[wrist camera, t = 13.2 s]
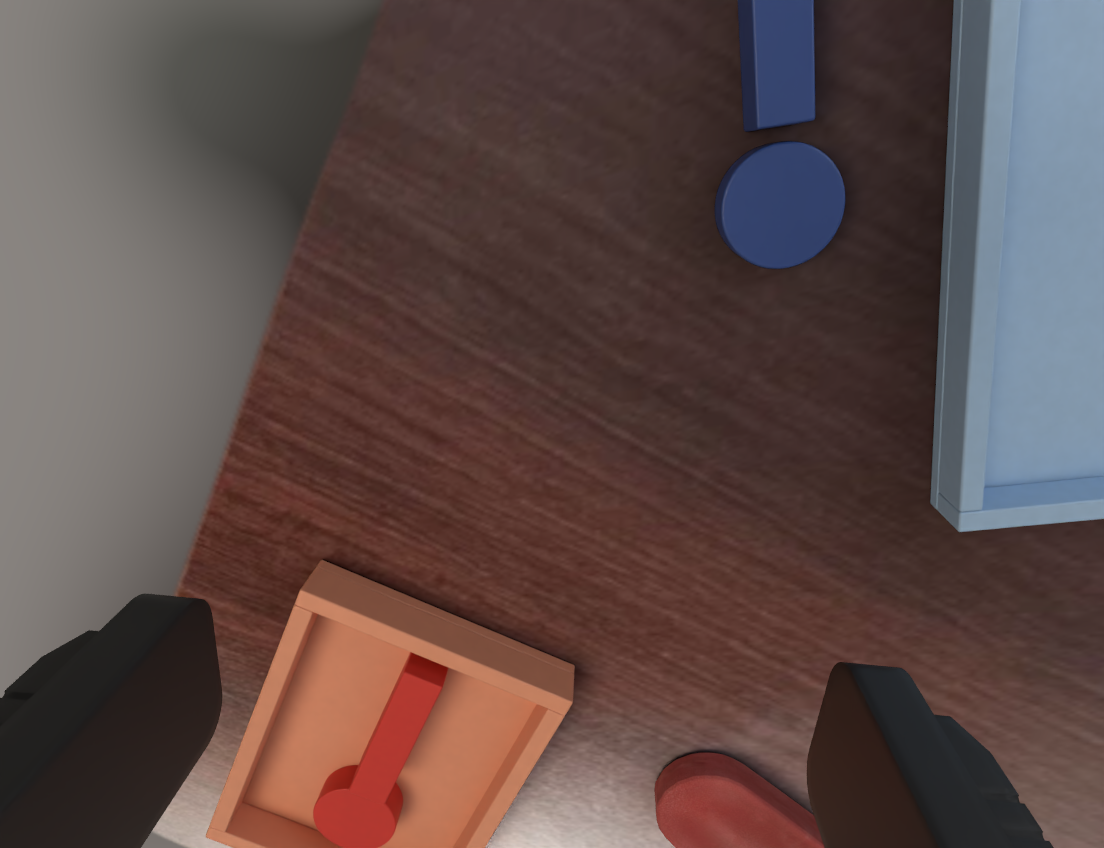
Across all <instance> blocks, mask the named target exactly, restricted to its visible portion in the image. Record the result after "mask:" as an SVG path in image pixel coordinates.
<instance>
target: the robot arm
mask: <svg viewBox="0 0 1104 848" xmlns="http://www.w3.org/2000/svg"><path fill="white" fill-rule="evenodd" d="M221 706H222V686H221V679H220V671H219V664H218V656H217V648H216V641H215V633H214V625H213V618H212V612H211V609H210V606H209V604H208V603H207V602H206V601H205V600H203V599H197V598H186V597H176V596H165V595H155V594H141V595H139V596H137V597H135V598H134V599H132V600H131V601H130V602H129V603H128V604H127V605H126V606H125V607H124V608H123V609H122V610H121V611H120V612H119V613H118V614H117V615H116V616H115V617H114V618H113V619H111V620H110V621H109V623H107V624H106V625H105V626H104V627H103V628H102V629H101V630H100V631H87V632H85V633H84V634H82V635H80V636H78V637H76V638H75V639H73V640H71V641H69V642H68V643H66V644H64V645H62V646H60V647H59V648H57V649H55V650H54V651H52V652H50V653H48V654H46V655H44V656H43V657H41V658H40V659H39V660H38V661H37V662H36V663H35V664H34V665H32V666H31V667H30V668H29V669H28V670H27V671H26V672H25V673H24V674H23V675H22V676H20V677H19V678H18V679H17V680H16V681H15V682H14V683H13V684H12V685H11V686H9V687H8V688H7V689H6V690H5V694H4V696H3V697H2V698H0V848H141V847H142V845H143V844H144V842H145V840H146V839H147V838H148V836H149V834H150V833H151V831H152V830H153V828H154V827H155V825H156V824H157V822H158V821H159V819H160V818H161V816H162V815H163V813H164V812H165V810H166V808H167V807H168V805H169V804H170V802H171V801H172V799H173V798H174V796H175V795H176V793H177V792H178V790H179V789H180V787H181V785H182V784H183V782H184V781H185V779H186V778H187V776H188V775H189V773H190V772H191V770H192V769H193V767H194V766H195V764H196V763H197V761H198V759H199V758H200V756H201V755H202V753H203V752H204V750H205V749H206V747H207V746H208V744H209V742H210V740H211V738H212V736H213V734H214V732H215V729H216V726H217V723H218V720H219V716H220V712H221ZM807 786H808V794H809V799H810V804H811V807H812V811H813V814H814V817H815V820H816V823H817V826H818V829H819V832H820V835H821V838H822V841H823V844H824V847H825V848H1053V846H1052V845H1051V843H1050V842H1049V841H1045V840H1044V839H1043V835H1042V833H1043V831H1042V830H1041V828H1040V826H1039V825H1038V823H1037V822H1036V820H1035V819H1034V817H1033V816H1032V814H1031V813H1030V811H1029V810H1028V808H1027V807H1026V805H1025V804H1022V803H1020V802H1019V799H1018V796H1019V795H1018V793H1017V792H1016V790H1015V789H1014V787H1013V786H1012V784H1011V783H1010V781H1009V780H1008V778H1007V777H1006V775H1005V774H1004V772H1003V771H1002V769H1001V768H1000V766H999V765H998V763H997V762H996V760H995V759H994V757H993V756H992V754H991V753H990V752H989V751H988V750H987V749H986V748H985V747H984V746H982V745H981V744H980V743H979V742H978V741H977V740H976V739H975V738H974V737H972V736H971V735H970V734H969V733H968V732H967V731H966V730H965V729H964V728H962V727H961V726H960V725H959V724H958V723H957V722H956V721H955V720H954V719H952V718H951V717H950V716H940V715H934V714H933V713H932V711H931V709H930V708H929V706H928V704H927V703H926V701H925V699H924V698H923V696H922V694H921V693H920V691H919V689H918V688H917V686H916V685H915V683H914V681H913V680H912V678H911V677H910V675H909V674H908V673H907V672H906V671H905V670H903V669H902V668H897V667H886V666H876V665H865V664H855V663H844V662H839V663H837V664H836V665H835V666H834V667H833V669H832V671H831V674H830V676H829V680H828V684H827V687H826V691H825V695H824V698H823V702H822V705H821V709H820V713H819V716H818V720H817V724H816V727H815V731H814V735H813V738H812V742H811V746H810V749H809V754H808V760H807Z"/></svg>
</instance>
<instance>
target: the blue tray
mask: <svg viewBox="0 0 1104 848" xmlns="http://www.w3.org/2000/svg"><path fill="white" fill-rule="evenodd" d="M930 503H931V504H932V506H933V507H934V508H935V509H937V510H938V511H939V512H940V513H941V514H942V515H943V516H944V517H945V518H946V519H947V520H948V521H949V523H950V524H951V525H952V526H953V527H954V528H955V529H956V530H957V531H959V532H965V531H976V530H987V529H998V528H1009V527H1019V526H1030V525H1041V524H1052V523H1063V522H1074V521H1085V520H1096V519H1104V0H954V6H953V28H952V49H951V71H950V92H949V114H948V135H947V157H946V178H945V200H944V221H943V243H942V264H941V286H940V307H939V329H938V350H937V372H936V393H935V415H934V436H933V458H932V479H931V501H930Z"/></svg>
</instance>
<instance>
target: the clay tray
mask: <svg viewBox="0 0 1104 848" xmlns="http://www.w3.org/2000/svg"><path fill="white" fill-rule="evenodd" d="M410 652H412V653H414V654H417V655H419V656H421V657H424V658H426V659H429V660H431V661H434V662H436V663H438V664H441V665H443V666H446V667H448V672H447V675H446V678H445V682H444V685H443V688H442V690H441V692H440V694H439V696H438V698H437V700H436V702H435V704H434V706H433V708H432V710H431V712H430V714H429V716H428V718H427V720H426V722H425V724H424V726H423V728H422V730H421V732H420V735H419V737H418V739H417V741H416V743H415V745H414V747H413V749H412V751H411V753H410V755H409V757H408V759H407V761H406V763H405V765H404V767H403V769H402V771H401V773H400V775H399V777H398V779H397V781H396V783H397V785H398V786H399V788H400V790H401V792H402V796H403V806H402V810H401V813H400V816H399V820H398V823H397V826H396V830H395V832H394V835H393V836H392V838H391V839H390V840H389V841H388V842H387V843H386V844H384V845H382V846H381V847H378V848H485V846H486V845H487V843H488V842H489V840H490V838H491V837H492V835H493V833H494V832H495V830H496V828H497V827H498V825H499V823H500V822H501V820H502V819H503V817H504V815H505V814H506V812H507V810H508V809H509V807H510V805H511V804H512V802H513V800H514V799H515V797H516V795H517V794H518V792H519V791H520V789H521V787H522V786H523V784H524V782H525V781H526V779H527V777H528V776H529V774H530V772H531V771H532V769H533V768H534V766H535V764H536V763H537V761H538V759H539V758H540V756H541V754H542V753H543V751H544V749H545V748H546V746H547V744H548V743H549V741H550V740H551V738H552V736H553V735H554V733H555V731H556V730H557V728H558V726H559V725H560V723H561V721H562V720H563V718H564V717H565V715H566V713H567V712H568V710H569V708H570V707H571V705H572V703H573V689H574V669H575V666H574V665H572V664H570V663H568V662H565V661H563V660H560V659H558V658H556V657H553V656H551V655H549V654H546V653H544V652H541V651H539V650H537V649H534V648H532V647H529V646H527V645H525V644H522V643H520V642H517V641H515V640H513V639H510V638H508V637H506V636H503V635H501V634H498V633H496V632H494V631H491V630H489V629H486V628H484V627H482V626H479V625H477V624H474V623H472V622H470V621H467V620H465V619H462V618H460V617H458V616H455V615H453V614H451V613H448V612H446V611H443V610H441V609H439V608H436V607H434V606H431V605H429V604H427V603H424V602H422V601H419V600H417V599H415V598H412V597H410V596H408V595H405V594H403V593H400V592H398V591H396V590H393V589H391V588H388V587H386V586H384V585H381V584H379V583H376V582H374V581H372V580H369V579H367V578H365V577H362V576H360V575H357V574H355V573H353V572H350V571H348V570H345V569H343V568H341V567H338V566H336V565H333V564H331V563H329V562H326V561H324V560H321V561H320V562H319V564H318V565H317V566H316V568H315V569H314V571H313V572H312V574H311V575H310V577H309V578H308V579H307V581H306V582H305V584H304V585H303V587H302V588H301V589H300V591H299V594H298V597H297V599H296V602H295V605H294V607H293V609H292V612H291V615H290V617H289V620H288V623H287V625H286V628H285V630H284V633H283V636H282V638H281V641H280V643H279V646H278V649H277V651H276V654H275V656H274V659H273V662H272V664H271V667H270V669H269V672H268V675H267V677H266V680H265V682H264V685H263V688H262V690H261V693H260V695H259V698H258V701H257V703H256V706H255V708H254V711H253V714H252V716H251V719H250V721H249V724H248V727H247V729H246V732H245V734H244V737H243V740H242V742H241V745H240V747H239V750H238V753H237V755H236V758H235V760H234V763H233V766H232V768H231V771H230V773H229V776H228V779H227V781H226V784H225V786H224V789H223V792H222V794H221V797H220V799H219V802H218V805H217V807H216V810H215V812H214V815H213V818H212V820H211V823H210V826H209V828H208V831H207V833H206V837H207V838H209V839H212V840H214V841H217V842H220V843H222V844H225V845H228V846H230V847H233V848H343V847H341V846H338V845H336V844H334V843H332V842H331V841H329V840H328V839H327V838H325V837H324V836H323V835H322V834H321V833H320V831H319V830H318V829H317V827H316V825H315V822H314V818H313V809H314V806H315V803H316V801H317V799H318V797H319V794H320V792H321V790H322V788H323V785H324V783H325V781H326V779H327V778H328V777H329V775H331V774H332V773H333V772H334V771H336V770H338V769H340V768H342V767H346V766H352V765H359V763H360V760H361V758H362V755H363V753H364V751H365V749H366V747H367V744H368V742H369V740H370V738H371V736H372V734H373V731H374V729H375V727H376V725H377V723H378V721H379V718H380V716H381V714H382V712H383V710H384V708H385V706H386V703H387V701H388V699H389V697H390V695H391V693H392V690H393V688H394V686H395V684H396V682H397V680H398V677H399V675H400V673H401V671H402V669H403V667H404V665H405V662H406V660H407V658H408V656H409V654H410Z"/></svg>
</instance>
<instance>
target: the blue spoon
mask: <svg viewBox="0 0 1104 848" xmlns="http://www.w3.org/2000/svg"><path fill="white" fill-rule="evenodd" d="M738 16H739V38H740V59H741V80H742V102H743V123H744V131H746V132H748V131H755V130H761V129H767V128H774V127H780V126H787V125H793V124H798V123H803V122H808V121H813V120H814V119H815V59H814V0H738ZM844 208H845V188H844V183H843V180H842V177H841V174H840V172H839V170H838V168H837V166H836V165H835V164H834V162H833V161H832V160H831V159H830V158H829V157H828V156H827V155H826V154H825V153H824V152H822V151H821V150H819V149H817V148H816V147H814V146H811V145H809V144H806V143H801V142H793V141H786V142H776V143H770V144H765V145H762V146H759V147H756V148H754V149H752V150H750V151H748V152H747V153H746V154H744V155H743V156H741V157H740V158H739V159H738V160H737V161H736V162H735V163H734V164H733V165H732V166H731V167H730V168H729V170H728V171H727V173H726V174H725V176H724V177H723V179H722V181H721V183H720V186H719V188H718V191H717V195H716V201H715V219H716V224H717V228H718V230H719V233H720V235H721V237H722V239H723V240H724V242H725V243H726V244H727V246H728V247H729V248H730V249H731V250H732V251H733V252H734V253H736V254H737V255H738V256H740V257H741V258H743V259H744V260H746V261H748V262H750V263H752V264H754V265H756V266H759V267H763V268H768V269H783V268H789V267H793V266H796V265H799V264H802V263H804V262H806V261H808V260H809V259H811V258H813V257H814V256H815V255H817V254H818V253H819V252H820V251H822V250H823V249H824V248H825V247H826V246H827V244H828V243H829V242H830V241H831V239H832V238H833V236H834V235H835V233H836V232H837V230H838V227H839V225H840V223H841V220H842V217H843V213H844Z"/></svg>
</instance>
